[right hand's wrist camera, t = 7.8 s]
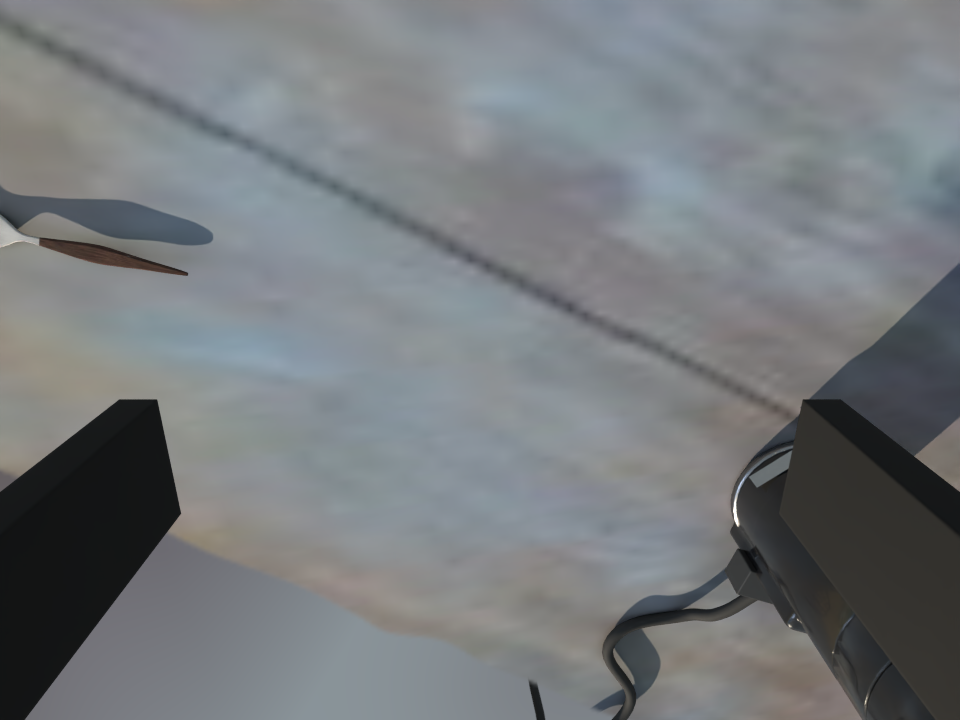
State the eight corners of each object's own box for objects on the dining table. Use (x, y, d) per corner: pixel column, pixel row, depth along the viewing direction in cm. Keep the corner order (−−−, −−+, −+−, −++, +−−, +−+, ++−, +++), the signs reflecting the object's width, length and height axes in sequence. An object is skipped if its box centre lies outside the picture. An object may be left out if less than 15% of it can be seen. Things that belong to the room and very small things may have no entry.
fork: (190, 291, 40) (176, 300, 38) (-67, 235, 39) (-94, 241, 37) (192, 253, 39) (178, 259, 37) (-70, 193, 38) (-99, 197, 36)
